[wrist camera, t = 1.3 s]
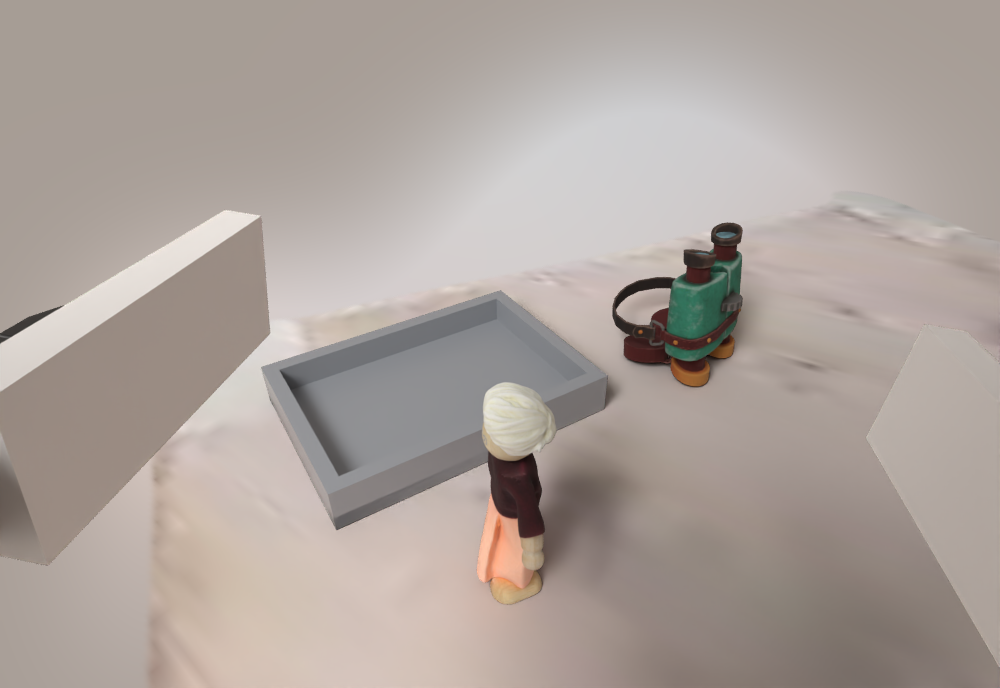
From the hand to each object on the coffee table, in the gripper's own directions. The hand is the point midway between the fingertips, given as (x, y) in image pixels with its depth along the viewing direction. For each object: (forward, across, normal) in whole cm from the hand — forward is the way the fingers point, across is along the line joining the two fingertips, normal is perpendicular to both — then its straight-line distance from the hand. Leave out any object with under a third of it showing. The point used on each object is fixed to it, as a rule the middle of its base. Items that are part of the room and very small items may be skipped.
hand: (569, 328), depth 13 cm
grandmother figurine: (+12, 0, -22) cm, 25 cm away
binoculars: (+35, +10, -19) cm, 41 cm away
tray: (+26, -7, -21) cm, 34 cm away
